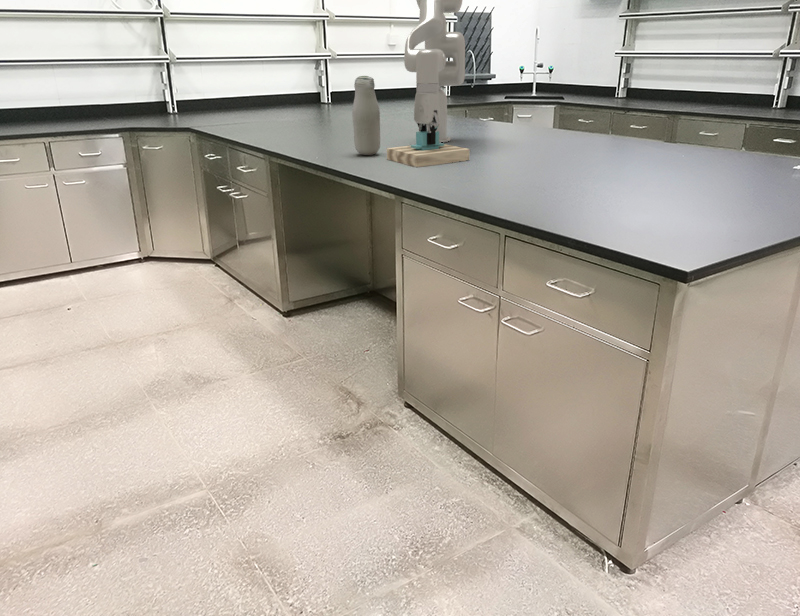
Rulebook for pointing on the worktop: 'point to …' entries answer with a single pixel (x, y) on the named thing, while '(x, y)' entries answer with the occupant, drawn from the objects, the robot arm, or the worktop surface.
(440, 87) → the robot arm
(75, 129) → the worktop surface
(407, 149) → the tan flat slab
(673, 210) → the worktop surface
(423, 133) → the servo
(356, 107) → the grey bottle
